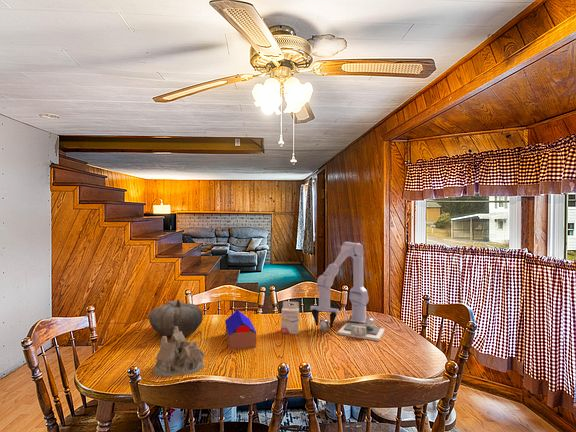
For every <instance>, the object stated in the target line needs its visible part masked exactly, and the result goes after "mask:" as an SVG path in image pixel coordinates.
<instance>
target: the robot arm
mask: <svg viewBox="0 0 576 432" xmlns="http://www.w3.org/2000/svg"><path fill="white" fill-rule="evenodd" d="M349 257H351V258H352V264H353V266H352V267H353V268H352V269H353V271H352V274H353V281H352V282H353V285H352V287H351V288H349V289H350V290H349V295H348V298H349V302H350V303H351V318H350V319H349V322H352V323H359V324H364V323H365V318H368V317H367V304H368V303H369V300H370V297H369V293H368V290H367V289H366V288H365V287H364V246H363V245H362V243H360V242H351V241H344V242H343V243H342V245H341V246H340V252H339V253H338V255H337V257H336V259H335V260H334V261H333V263H330V264H328V265H327V268H326V270H324V272H323V273H322V274H320V275H319V276H318V277H317V280H316V284H317V287H318V305H311V306H310V309H309V310H310V311H311V315H312V316H313V319H314V320H313V321H314V322H315V326H318V325H319V314H320V312H323V313H329V328H330V329H331V328H333V326H334V323H335V319H336V317H337V315H338V314H339V313H340V309H339V308H334V307H331V287H332V286H333V285H334V280H335V277H336V276H337V274H338V273H339V272H340V266H342V264H343V262H345V260H346V259H347V258H349Z"/></svg>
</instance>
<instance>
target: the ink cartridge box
mask: <svg viewBox="0 0 576 432" xmlns="http://www.w3.org/2000/svg"><path fill="white" fill-rule="evenodd" d="M299 306H300V303H299V302H298V301H287V300H285V301H282V308H281V313H280V314H281V316H280V317H281V319H280V320H281V321H280V334H289V335H290V334H291V335H298V334H299V329H300V327H299V324H300V323H299V322H300V307H299Z"/></svg>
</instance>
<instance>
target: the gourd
mask: <svg viewBox="0 0 576 432" xmlns="http://www.w3.org/2000/svg"><path fill="white" fill-rule="evenodd" d="M148 314H149V315H148V322H149V324H150V326H151V328H152V329H153V330H154V331H155V332H156V333H157V334H159V335H160V336H161V337H163V336H166V337H167V338H168V337H172V334H173V331H174V329H175V326H178V329H179V332H180V331H182V333H183V335H184V337H186V336H188V335H191V334H193V333H194V332H196V331H197V330H198V328H199V327H200V326H201V324H202V322H203V312H202V310H201V308H199V306H198V305H196V304H194V303H184V302H182V301H180V300H179V298H178V299H177V300H169V301H167V302H166V303H164V304H162V305H161V306H158V307H155V308H153V309H152V310H151V311H150V312H149V313H148Z"/></svg>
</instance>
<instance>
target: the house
mask: <svg viewBox="0 0 576 432" xmlns="http://www.w3.org/2000/svg"><path fill="white" fill-rule="evenodd" d="M224 323H225V337H226V340H227V344H228V348H229V351H230V350H231V351H232V350H234V351H235V350H245V349H253V348H254V349H256V348H257V330H256V329H255V327H254V325H253V323H252V320H251V319H250V318H249V317H248V316H246V315H245V314H244V313H242V312H241V311H240V310H239V309H237V310H235V311H234V312H233V313H232V314H231V315H229V317H228V318H227V319H225V321H224Z"/></svg>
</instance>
